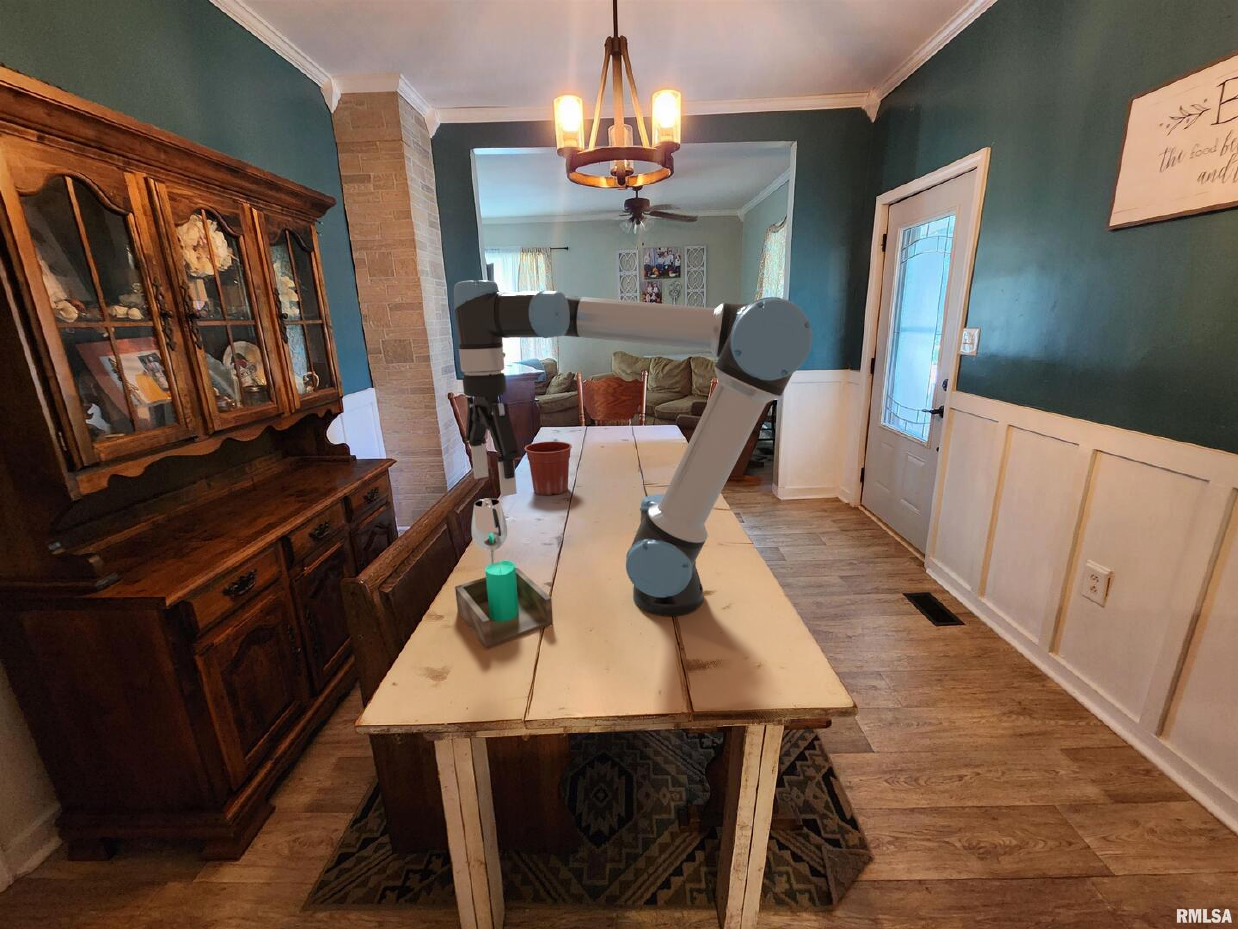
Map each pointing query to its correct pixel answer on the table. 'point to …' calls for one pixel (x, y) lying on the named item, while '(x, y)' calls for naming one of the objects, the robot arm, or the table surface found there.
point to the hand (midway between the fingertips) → (494, 485)
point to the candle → (502, 591)
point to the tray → (491, 633)
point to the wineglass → (489, 525)
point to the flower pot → (549, 466)
